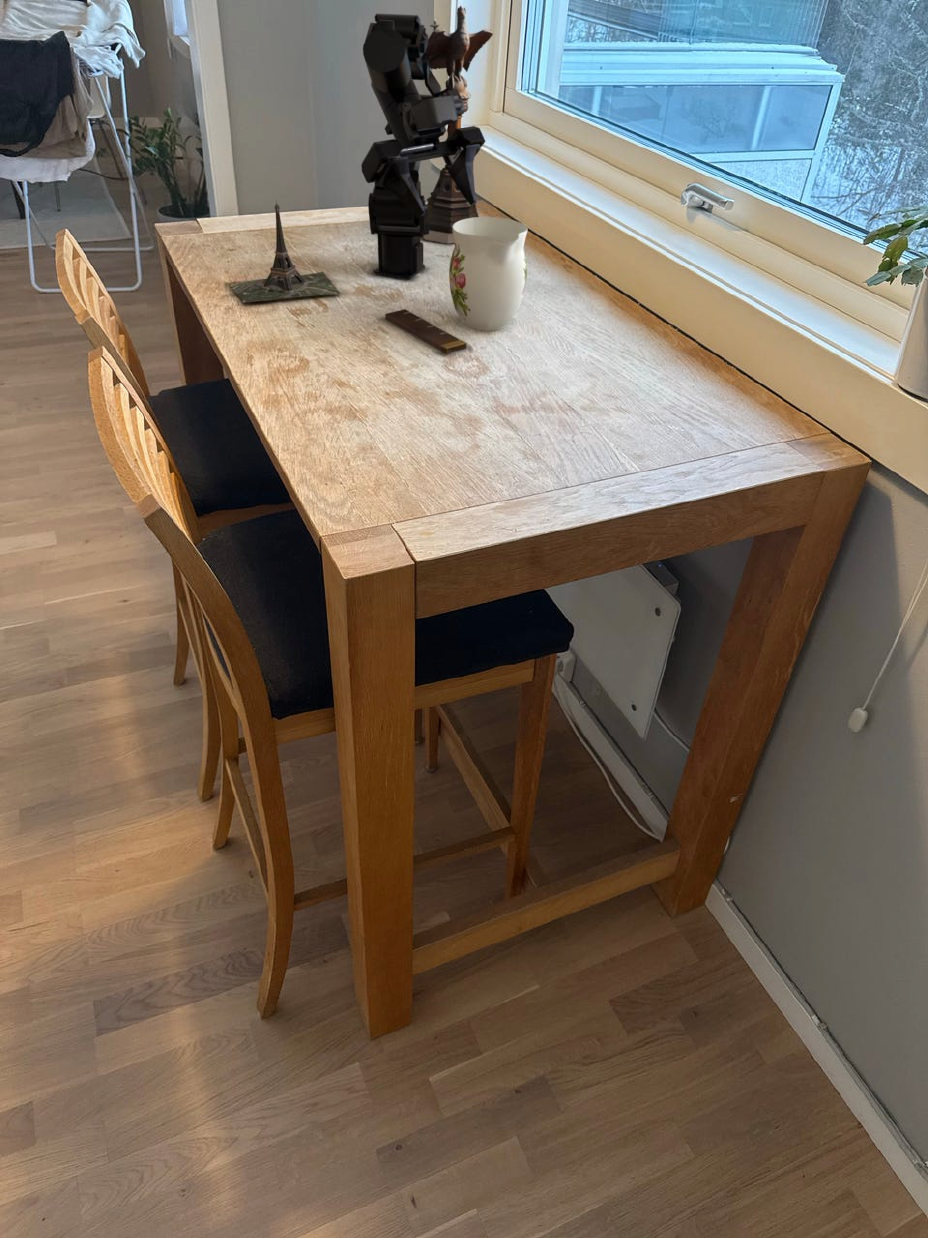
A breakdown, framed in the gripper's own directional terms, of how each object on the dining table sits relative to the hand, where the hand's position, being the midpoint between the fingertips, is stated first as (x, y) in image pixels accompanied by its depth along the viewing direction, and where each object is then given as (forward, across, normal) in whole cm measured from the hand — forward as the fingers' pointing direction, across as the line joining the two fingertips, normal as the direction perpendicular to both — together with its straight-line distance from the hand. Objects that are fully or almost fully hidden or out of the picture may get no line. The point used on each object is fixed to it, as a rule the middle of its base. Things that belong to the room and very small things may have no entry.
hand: (448, 208), depth 129 cm
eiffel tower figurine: (-2, -19, +21) cm, 29 cm away
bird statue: (-10, +20, +30) cm, 37 cm away
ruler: (+15, -11, +3) cm, 19 cm away
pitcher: (+16, -1, +2) cm, 16 cm away
